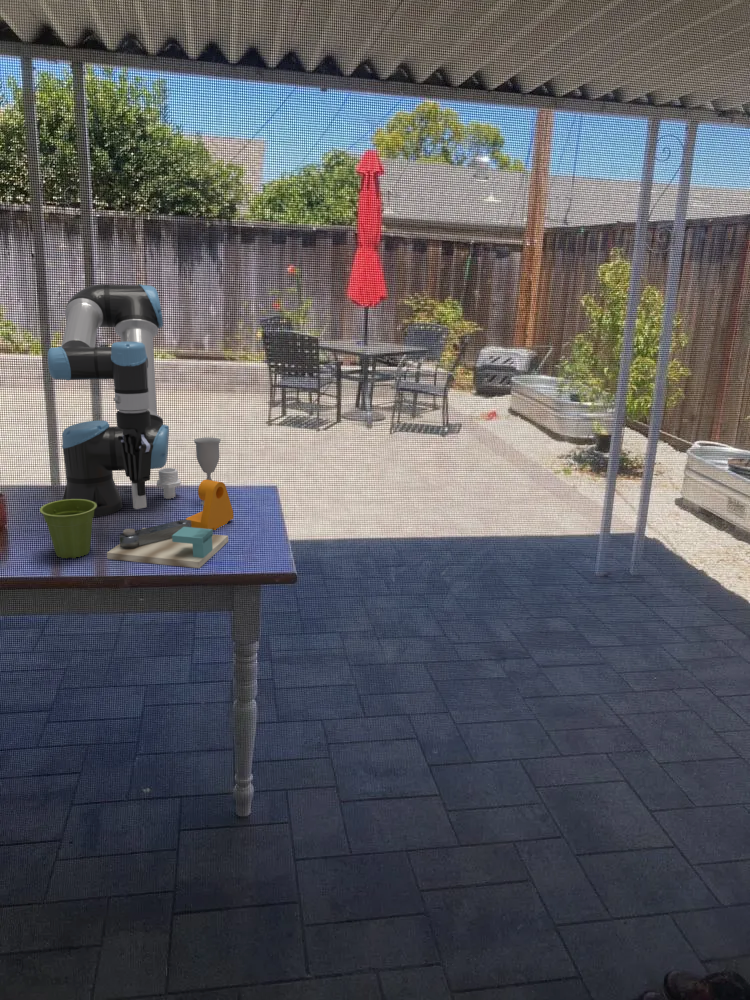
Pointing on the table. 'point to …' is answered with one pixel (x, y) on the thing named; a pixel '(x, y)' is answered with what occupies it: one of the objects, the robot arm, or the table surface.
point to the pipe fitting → (168, 481)
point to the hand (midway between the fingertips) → (140, 507)
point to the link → (152, 534)
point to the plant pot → (70, 526)
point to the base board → (165, 552)
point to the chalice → (207, 454)
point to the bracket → (212, 506)
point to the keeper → (195, 539)
